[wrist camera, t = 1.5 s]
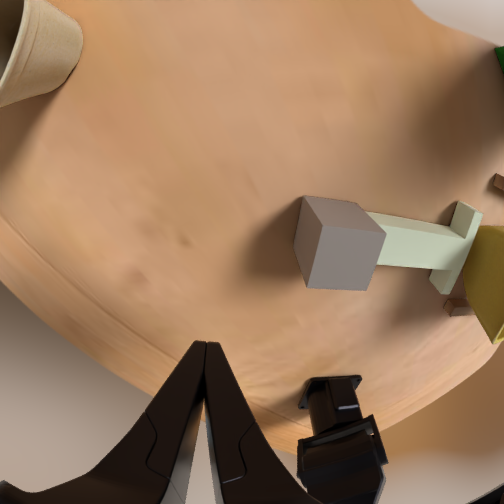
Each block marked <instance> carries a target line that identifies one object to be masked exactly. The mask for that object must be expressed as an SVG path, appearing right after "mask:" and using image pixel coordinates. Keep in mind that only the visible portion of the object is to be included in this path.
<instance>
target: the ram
mask: <svg viewBox="0 0 504 504" xmlns="http://www.w3.org/2000/svg"><path fill="white" fill-rule="evenodd" d="M482 216H483V213H481V212H480V211H478V210H477V209H475V208H474V207H472V206H470V205H469V204H467V203H465V202H462V201H458V203H457V206H456V209H455V212H454V216H453V218H452V221H451V224H450V227H449V226H444V225H439V224H434V223H429V222H424V221H419V220H413V219H408V218H402V217H397V216H391V215H385V214H379V213H373V212H367V211H364V210H363V209H362V208H361V207H360V206H359V205H358V204H357V203H352V202H346V201H340V200H333V199H326V198H319V197H312V196H304V195H303V199H302V204H301V209H300V215H299V220H298V225H297V230H296V234H295V239H294V244H293V249H294V252H295V255H296V258H297V261H298V264H299V267H300V269H301V272H302V275H303V278H304V281H305V284H306V287H307V288H315V289H335V290H358V291H367V288H368V285H369V283H370V280H371V278H372V275H373V272H374V270H375V267H376V264H378V265H391V266H403V267H416V268H428V269H433V270H432V273H431V275H430V277H429V281H430V282H431V283H432V284H433V285H434V286H435V288H436V289H437V290H438V291H439V292H440V294H450V292H451V290H452V288H453V286H454V284H455V282H456V280H457V278H458V276H459V273H460V271H461V269H462V267H463V265H464V262H465V260H466V258H467V255H468V253H469V250H470V248H471V245H472V243H473V240H474V238H475V235H476V233H477V230H478V227H479V224H480V221H481V219H482Z"/></svg>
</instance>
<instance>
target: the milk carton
mask: <svg viewBox="0 0 504 504" xmlns="http://www.w3.org/2000/svg"><path fill="white" fill-rule="evenodd" d="M495 51H496V54H497V56H498V59H499V62H500V65H501V68H502V71H503V74H504V46H502V47H498V48H495Z"/></svg>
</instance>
